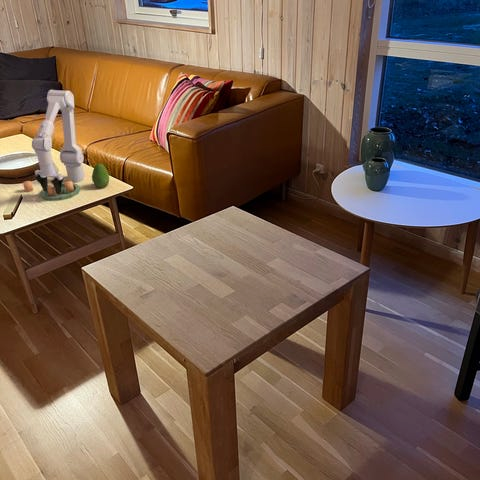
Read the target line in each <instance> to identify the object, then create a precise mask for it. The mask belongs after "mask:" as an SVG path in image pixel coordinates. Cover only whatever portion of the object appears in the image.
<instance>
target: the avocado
mask: <svg viewBox="0 0 480 480" xmlns="http://www.w3.org/2000/svg"><path fill="white" fill-rule="evenodd" d="M109 174H110V173H109V172H108V171H107V168H106V167H105V165H104V164H103V163H97V164H96V165H94V168H93V171H92V174H91V180H92V182H93V184H94V186H95V187H97V188H99V189H103V188H106V187H107V186H109V183H110V175H109Z"/></svg>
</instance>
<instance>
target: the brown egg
mask: <svg viewBox="0 0 480 480" xmlns="http://www.w3.org/2000/svg"><path fill="white" fill-rule="evenodd" d="M22 184H23V185H22V186H23V189H24V192H25V193H30V192H31V193H32V192H33V191H34V187H33V185H32V184H33V183H32V181H31V180H26V181H23V182H22Z"/></svg>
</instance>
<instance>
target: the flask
mask: <svg viewBox="0 0 480 480" xmlns="http://www.w3.org/2000/svg"><path fill="white" fill-rule="evenodd" d="M52 161H53V165H54V170H55V172H57V173H59V168H58V167H57V165H56V164H55V161H54V160H53V159H52Z"/></svg>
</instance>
